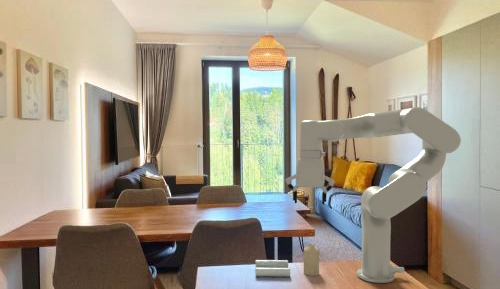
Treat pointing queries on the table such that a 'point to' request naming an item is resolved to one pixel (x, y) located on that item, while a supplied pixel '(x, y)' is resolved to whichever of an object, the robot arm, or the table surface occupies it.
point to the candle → (311, 260)
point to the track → (272, 269)
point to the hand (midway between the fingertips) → (309, 203)
